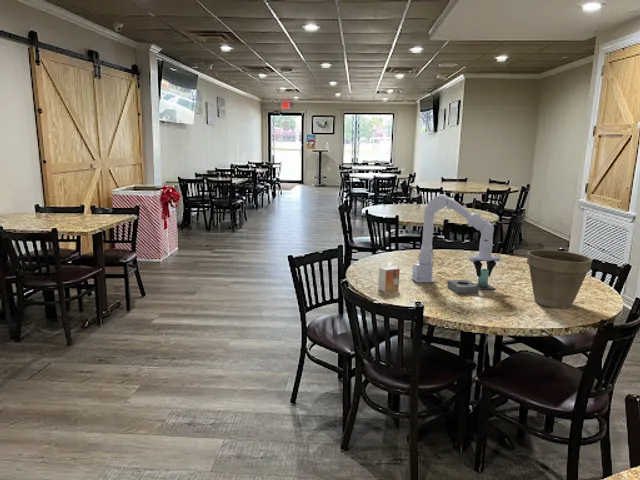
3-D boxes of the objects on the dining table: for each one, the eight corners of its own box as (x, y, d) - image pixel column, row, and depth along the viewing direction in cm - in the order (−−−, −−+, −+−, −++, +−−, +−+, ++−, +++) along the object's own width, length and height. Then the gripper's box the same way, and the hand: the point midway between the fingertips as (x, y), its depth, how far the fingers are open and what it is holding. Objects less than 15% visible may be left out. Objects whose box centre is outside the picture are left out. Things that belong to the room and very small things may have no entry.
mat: (477, 290, 227) (478, 289, 227) (469, 284, 236) (469, 283, 236) (495, 289, 228) (495, 288, 228) (486, 284, 237) (486, 283, 237)
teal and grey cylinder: (480, 286, 229) (481, 270, 228) (476, 283, 234) (477, 268, 232) (489, 286, 230) (490, 270, 228) (485, 283, 234) (486, 268, 233)
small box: (384, 292, 221) (385, 270, 219) (377, 289, 226) (378, 267, 224) (398, 290, 224) (400, 268, 222) (391, 287, 229) (392, 265, 227)
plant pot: (576, 297, 219) (582, 251, 215) (593, 315, 195) (600, 263, 191) (518, 292, 224) (522, 247, 220) (528, 309, 201) (533, 259, 196)
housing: (457, 294, 220) (458, 287, 219) (447, 286, 231) (447, 279, 231) (478, 293, 221) (479, 286, 221) (466, 286, 233) (467, 279, 232)
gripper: (475, 250, 223) (472, 278, 226) (504, 249, 225) (501, 277, 228) (468, 247, 230) (466, 274, 233) (496, 246, 232) (494, 273, 235)
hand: (483, 275), depth 231 cm, fingers closed on teal and grey cylinder, 4 cm apart
